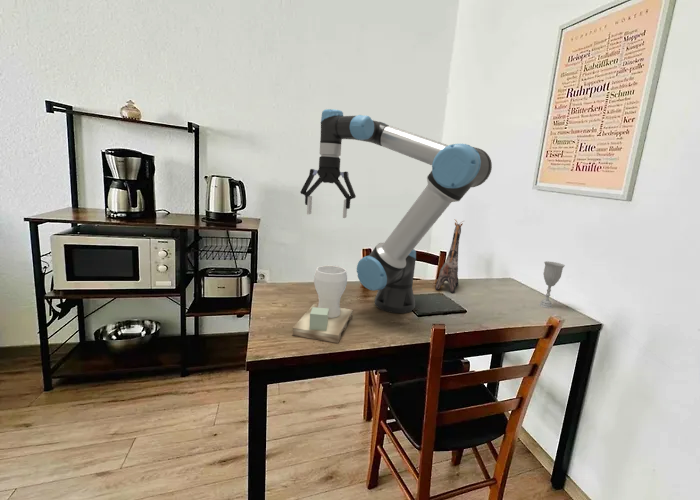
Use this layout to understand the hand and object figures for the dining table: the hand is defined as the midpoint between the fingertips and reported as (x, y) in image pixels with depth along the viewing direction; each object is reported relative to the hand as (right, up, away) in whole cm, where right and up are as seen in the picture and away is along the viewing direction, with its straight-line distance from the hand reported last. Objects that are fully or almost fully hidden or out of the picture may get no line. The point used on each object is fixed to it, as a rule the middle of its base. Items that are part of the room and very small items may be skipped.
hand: (326, 215), depth 131 cm
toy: (+53, -30, +30) cm, 68 cm away
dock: (0, -37, -17) cm, 41 cm away
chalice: (+89, -36, +15) cm, 97 cm away
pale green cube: (-1, -36, -24) cm, 43 cm away
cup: (+2, -34, -14) cm, 36 cm away
